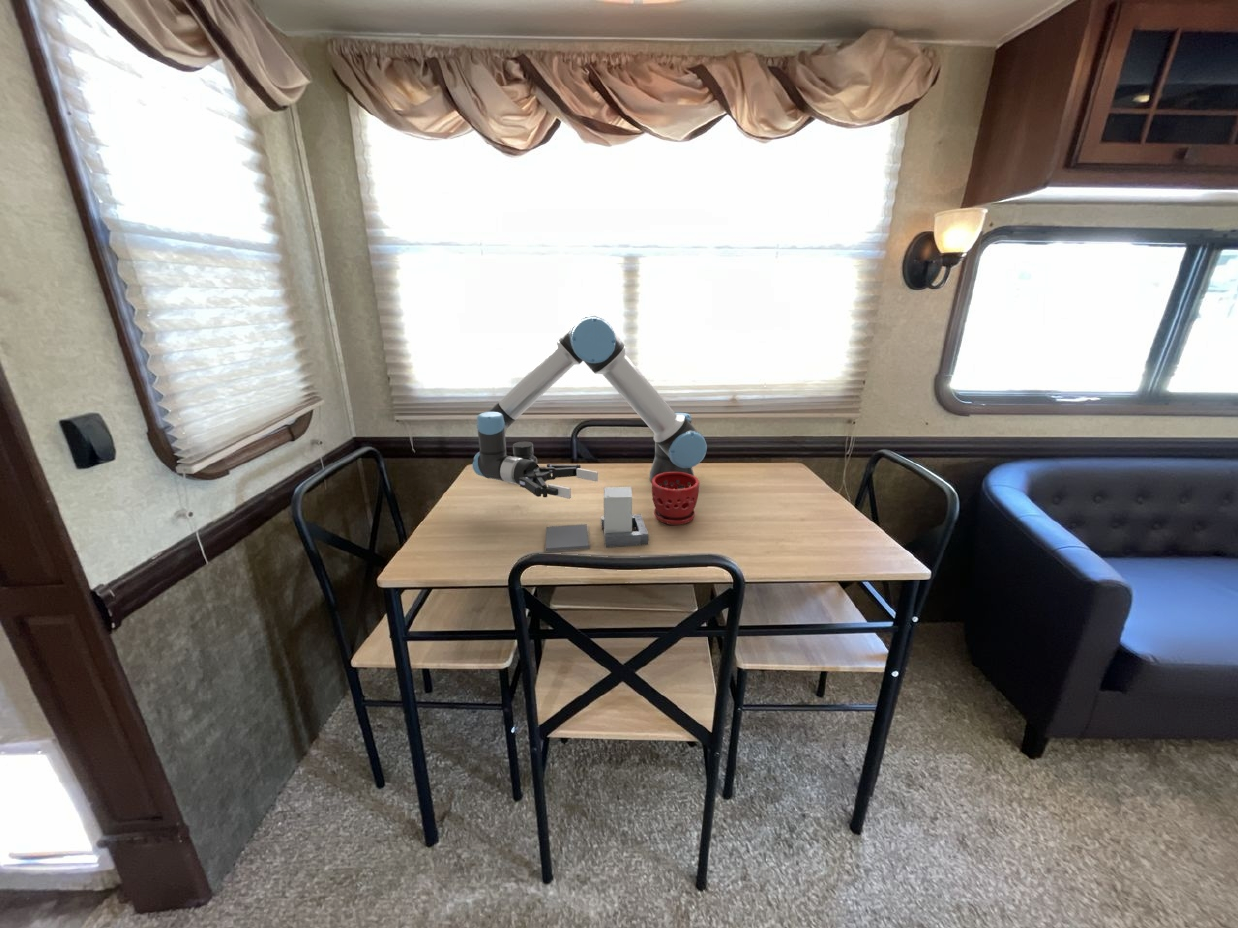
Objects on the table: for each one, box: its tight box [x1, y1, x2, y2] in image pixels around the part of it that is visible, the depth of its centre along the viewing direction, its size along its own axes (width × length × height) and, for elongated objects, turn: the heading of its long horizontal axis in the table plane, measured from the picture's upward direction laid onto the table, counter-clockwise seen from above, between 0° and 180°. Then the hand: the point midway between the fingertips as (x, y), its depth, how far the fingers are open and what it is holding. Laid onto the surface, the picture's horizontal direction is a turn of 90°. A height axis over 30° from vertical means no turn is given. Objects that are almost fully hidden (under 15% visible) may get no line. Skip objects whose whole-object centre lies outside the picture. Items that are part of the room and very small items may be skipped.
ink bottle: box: [512, 441, 538, 464], centre depth 171 cm, size 10×9×12 cm
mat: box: [545, 523, 591, 553], centre depth 129 cm, size 11×12×1 cm
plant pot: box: [651, 472, 700, 526], centre depth 138 cm, size 13×13×12 cm
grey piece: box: [600, 513, 649, 549], centre depth 130 cm, size 11×12×3 cm
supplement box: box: [603, 486, 633, 542], centre depth 129 cm, size 7×7×13 cm
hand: (584, 484), depth 131 cm, fingers open, 13 cm apart
